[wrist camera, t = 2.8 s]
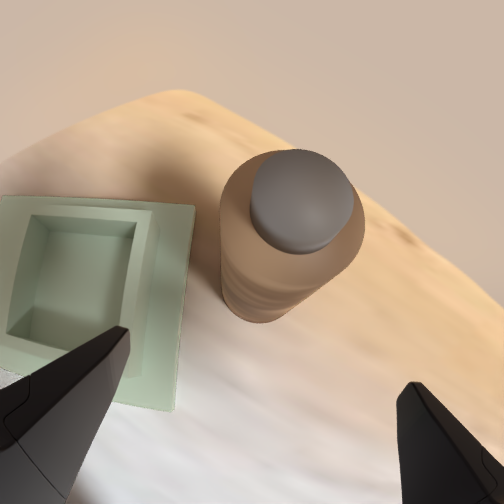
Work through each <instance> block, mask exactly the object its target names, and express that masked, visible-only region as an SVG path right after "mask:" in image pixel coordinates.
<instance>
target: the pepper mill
mask: <svg viewBox="0 0 504 504" xmlns="http://www.w3.org/2000/svg"><path fill="white" fill-rule="evenodd" d="M364 232H365V217H364V211H363V207H362V203H361V201H360V198H359V196H358V194H357V192H356V190H355V189H354V187H353V186H352V184H351V183H350V182H349V180H348V179H347V177H346V175H345V174H344V173H343V171H342V170H341V169H340V168H339V167H338V166H337V165H336V164H335V163H334V162H332V161H331V160H329V159H328V158H326V157H324V156H323V155H320V154H318V153H315V152H312V151H308V150H301V149H291V150H278V151H271V152H267V153H263V154H260V155H258V156H255V157H253V158H251V159H250V160H248V161H246V162H245V163H243V164H242V165H241V166H240V167H239V168H238V169H237V170H236V171H235V172H234V173H233V174H232V175H231V177H230V178H229V180H228V181H227V183H226V185H225V187H224V190H223V193H222V196H221V201H220V255H221V289H222V295H223V298H224V300H225V303H226V304H227V306H228V307H229V309H230V310H231V311H232V312H233V313H234V314H235V315H237V316H238V317H239V318H241V319H243V320H245V321H248V322H252V323H268V322H271V321H274V320H276V319H278V318H280V317H281V316H283V315H284V314H286V313H287V312H288V311H290V310H291V309H293V308H294V307H295V306H297V305H298V304H299V303H301V302H302V301H303V300H305V299H306V298H307V297H309V296H310V295H312V294H313V293H314V292H316V291H317V290H318V289H320V288H321V287H322V286H323V285H325V284H326V283H327V282H329V281H330V280H331V279H333V278H334V277H335V276H337V275H338V274H339V273H340V272H342V271H343V270H344V269H345V268H346V267H348V265H349V264H350V263H351V262H352V261H353V260H354V258H355V257H356V255H357V253H358V252H359V249H360V247H361V245H362V241H363V238H364Z"/></svg>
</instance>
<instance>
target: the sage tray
mask: <svg viewBox="0 0 504 504" xmlns="http://www.w3.org/2000/svg"><path fill="white" fill-rule="evenodd" d="M195 216H196V210H195V205H186V204H174V203H160V202H146V201H131V200H114V199H96V198H74V197H48V196H8V195H3V196H2V199H1V201H0V368H3V369H5V370H8V371H10V372H13V373H16V374H18V375H21V376H24V377H25V376H27V375H30V374H31V373H33V372H34V371H36V370H38V369H40V368H41V367H43V366H45V365H47V364H48V363H50V362H52V361H54V360H56V359H57V358H59V357H61V356H63V355H64V354H66V353H68V352H70V351H71V350H73V349H75V348H77V347H78V346H80V345H82V344H84V343H86V342H87V341H89V340H91V339H93V338H94V337H96V336H98V335H100V334H101V333H103V332H105V331H107V330H109V329H110V328H112V327H114V326H116V325H119V326H122V327H125V328H128V329H129V331H130V345H131V350H130V355H129V357H128V360H127V363H126V365H125V368H124V371H123V374H122V377H121V379H120V382H119V385H118V388H117V390H116V393H115V396H114V398H113V400H112V402H117V403H121V404H126V405H131V406H136V407H142V408H148V409H153V410H160V411H166V412H172V411H173V410H174V406H175V391H176V378H177V366H178V354H179V344H180V334H181V324H182V314H183V305H184V297H185V288H186V280H187V272H188V265H189V257H190V250H191V243H192V236H193V229H194V222H195Z"/></svg>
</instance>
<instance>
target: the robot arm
mask: <svg viewBox="0 0 504 504" xmlns="http://www.w3.org/2000/svg"><path fill="white" fill-rule="evenodd" d="M130 350H131V345H130V331H129V329H128V328H125V327H122V326H119V325H116V326H114V327H112V328H110V329H109V330H107V331H105V332H103V333H101V334H100V335H98V336H96V337H94V338H93V339H91V340H89V341H87V342H86V343H84V344H82V345H80V346H78V347H77V348H75V349H73V350H71V351H70V352H68V353H66V354H64V355H63V356H61V357H59V358H57V359H56V360H54V361H52V362H50V363H48V364H47V365H45V366H43V367H41V368H40V369H38V370H36V371H34V372H33V373H31V374H30V375H27V376H25V377H24V378H22V379H20V380H18V381H16V382H14V383H13V384H11V385H9V386H7V387H5V388H3V389H0V504H65V502H66V499H67V497H68V495H69V493H70V490H71V488H72V486H73V483H74V481H75V479H76V476H77V474H78V472H79V470H80V467H81V465H82V463H83V461H84V459H85V456H86V454H87V452H88V450H89V448H90V446H91V444H92V441H93V439H94V437H95V435H96V433H97V431H98V429H99V427H100V425H101V422H102V420H103V418H104V416H105V414H106V412H107V410H108V408H109V406H110V404H111V402H112V400H113V398H114V396H115V393H116V390H117V388H118V385H119V382H120V379H121V377H122V374H123V371H124V368H125V365H126V363H127V360H128V357H129V355H130ZM396 407H397V443H398V453H399V463H400V474H401V488H402V504H504V467H503V466H502V465H501V464H500V463H499V462H498V461H497V460H496V459H495V458H494V457H493V456H492V455H491V454H490V453H489V452H488V451H487V450H486V449H485V448H484V447H483V446H482V445H481V444H480V442H479V441H478V440H477V439H476V438H475V437H474V436H473V435H472V434H471V433H470V432H469V431H468V430H467V429H466V428H465V427H464V426H463V425H462V424H461V423H460V422H459V421H458V420H457V419H456V418H455V417H454V415H453V414H452V413H451V412H450V411H449V410H448V409H447V408H446V407H445V406H444V405H443V404H442V403H441V402H440V401H439V400H438V399H437V398H436V397H435V396H434V395H433V394H432V393H431V392H430V391H429V390H428V389H427V388H426V387H425V386H424V385H423V384H422V383H421V382H409V383H408V384H407V385H406V387H405V388H404V389H403V391H402V392H401V394H400V395H399V396H398V398H397V402H396Z"/></svg>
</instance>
